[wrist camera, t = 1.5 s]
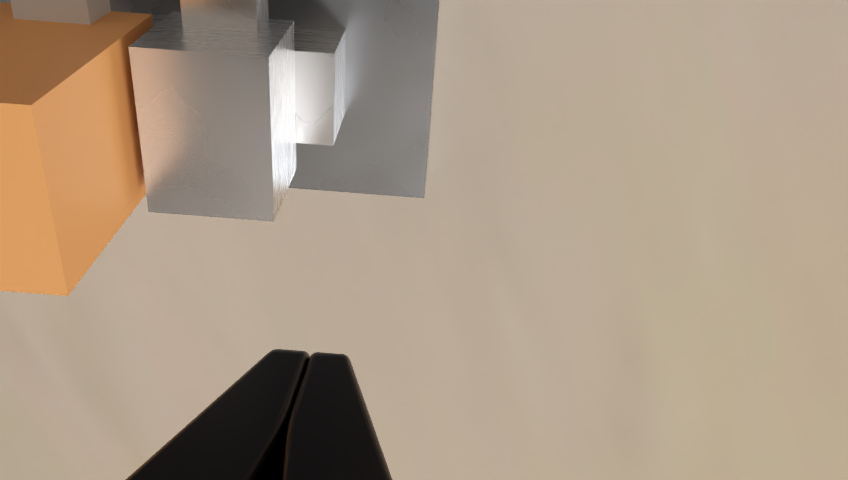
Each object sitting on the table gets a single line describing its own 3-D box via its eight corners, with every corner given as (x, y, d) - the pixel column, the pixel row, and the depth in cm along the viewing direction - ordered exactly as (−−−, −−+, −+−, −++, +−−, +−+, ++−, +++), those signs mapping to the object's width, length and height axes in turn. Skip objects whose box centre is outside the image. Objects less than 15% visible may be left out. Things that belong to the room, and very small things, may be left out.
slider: (192, 132, 18) (67, 295, 13) (64, 122, 18) (-120, 281, 13) (162, -216, 15) (-31, -213, 9) (4, -227, 15) (-291, -234, 9)
